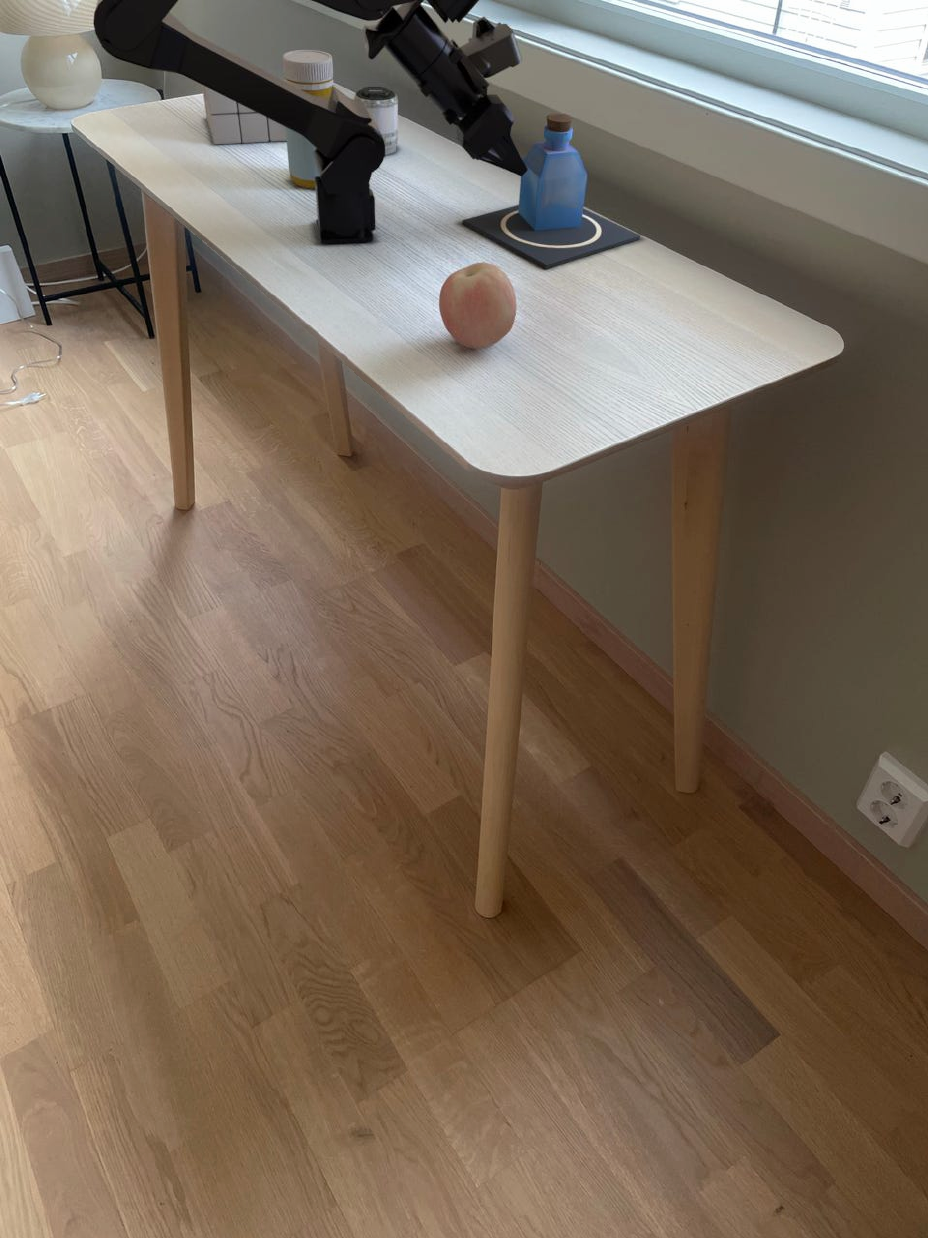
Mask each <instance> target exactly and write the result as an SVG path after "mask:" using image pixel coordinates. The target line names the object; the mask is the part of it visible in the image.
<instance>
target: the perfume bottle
mask: <svg viewBox="0 0 928 1238" xmlns="http://www.w3.org/2000/svg"><path fill="white" fill-rule="evenodd" d="M573 120H574V117H573V116H571V115H569V114H566V113H558V112H555V113H549V114H547V115H546V125H545V126H544V129H543V138H544V139H545V141H543V142H535V143H534V144H533V146H532V147H531V148H530V150H529V151H528V153H527V154H526V156H525V157H524V158H523V161H524V163H525V165H526V167H527V169H528V170H527V172H526V173H525V174H524V175H523V176H520V185H519V197H518V205H519V208H518V213H519V214H520V215H521V216H522V217H523V218H524V219H525V220H526V221H527V222H528V223H529V224H530V226H531V227H532V228H533V229H534V230H535V231H541V230H552V229H563V228H574V227H581V221H582V213H583V209H584V204H585V196H586V190H587V182H588V174H587V171H586V169H585V166H584V163H583V161H582V158H581V156H580V153H579V151H578V150H577V149H576V148H574V147H573V146H572V145H571V144H570V141H571V140H572V139H573V132H574V129H573V127H572V123H573Z"/></svg>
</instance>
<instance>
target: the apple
mask: <svg viewBox="0 0 928 1238" xmlns="http://www.w3.org/2000/svg"><path fill="white" fill-rule="evenodd" d="M516 297H517V296H516V293H515V288H514V286H513V284H512V282H511V279H510V278H509V277H508V276H507V274H506V273H505V272H504V271H503V269H501V268H500V267H498V266H497V265H495V264H493V263H489V262H484V261H483V262H476V263H474V264H470V265H468V266H465V267H463V268H459V269H458V270H456V271H454V272H452V273H451V274H449V275H448V277H447V278H446V279H445V281H444V282H443V284H442V286H441V289H440V291H439V296H438V309H439V315H440V317H441V320H442V323H443V325H444V328H445V329H446V331H447V332H448V334H449V335H450V336H451V337H452V338H453V339H454V340H455V341H456V342H457V343H459V344H460V345H462V347H463V346H464V347H465V348H468V349H473V350H475V349H476V350H478V349H479V350H481V349H487V348H490V347H492V346H493V345H495V344H497V343H498V342H500V341H501V340H502V339H504V338H505V336H506V335H508V333H509V332H510V331H511V330H512V328H513V326H514V323H515V321H516V315H517V298H516Z"/></svg>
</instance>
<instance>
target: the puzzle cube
mask: <svg viewBox="0 0 928 1238" xmlns="http://www.w3.org/2000/svg"><path fill="white" fill-rule="evenodd" d="M201 89H202V96H203V104H204V110H205V116H206V121H207V125H208V128H209V131H210V134H211V137H212V140H213V144H214V145H231V144H232V145H233V144H241V143H242V144H250V143H251V144H252V143H268V142H287V140H286V128H285V126H283V125H281V124H279V123H277V122H275V121H273V120H271V119H269V118H267V117H265V116H263V115H261V114H259V113H257V112H255V111H253V110H251V109H249V108H247V107H245V106H243V105H241V104H239V103H237V102H235V101H233V100H231V99H229V98H227V97H225V96H223V95H221V94H219V93H217V92H215V91H213V90H211V89H209V88H207V87H205V86H204V85H202V84H201Z"/></svg>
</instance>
